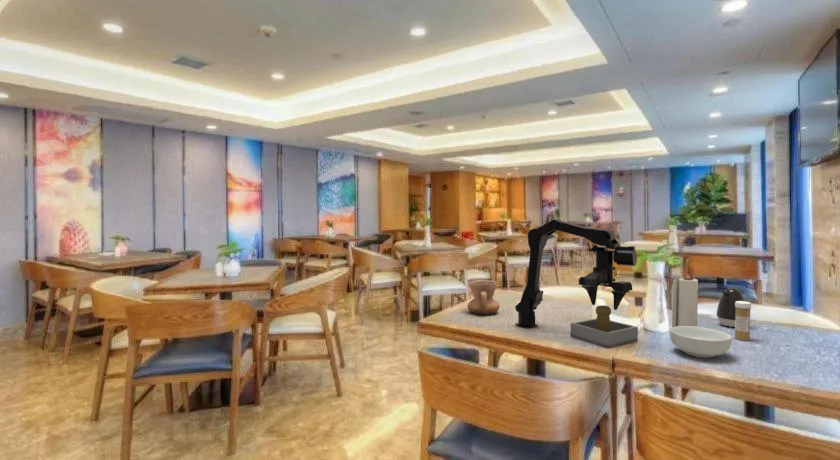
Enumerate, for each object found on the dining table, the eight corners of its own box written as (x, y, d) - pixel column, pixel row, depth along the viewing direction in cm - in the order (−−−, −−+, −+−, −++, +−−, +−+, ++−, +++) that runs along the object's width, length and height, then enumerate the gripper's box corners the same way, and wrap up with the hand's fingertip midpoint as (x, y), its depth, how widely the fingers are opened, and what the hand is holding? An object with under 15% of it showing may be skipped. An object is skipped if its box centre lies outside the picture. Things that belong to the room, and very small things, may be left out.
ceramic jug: (468, 308, 213) (467, 278, 212) (499, 308, 211) (498, 278, 210) (466, 318, 195) (465, 286, 194) (500, 318, 193) (499, 286, 192)
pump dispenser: (709, 324, 179) (710, 286, 178) (728, 321, 182) (729, 285, 182) (734, 330, 169) (735, 291, 169) (754, 328, 173) (755, 289, 172)
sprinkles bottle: (739, 336, 161) (739, 300, 161) (752, 340, 157) (753, 302, 157) (731, 338, 159) (732, 301, 159) (745, 341, 155) (746, 303, 155)
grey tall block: (699, 337, 162) (700, 278, 161) (694, 340, 157) (695, 280, 156) (677, 333, 167) (678, 276, 166) (671, 336, 162) (672, 278, 161)
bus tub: (570, 336, 164) (570, 323, 164) (599, 330, 172) (599, 317, 172) (607, 348, 150) (608, 333, 150) (637, 340, 158) (637, 326, 158)
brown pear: (613, 338, 157) (614, 308, 157) (595, 337, 159) (595, 307, 158) (610, 334, 163) (610, 304, 163) (592, 333, 164) (593, 303, 164)
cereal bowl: (707, 366, 132) (708, 342, 132) (658, 350, 148) (658, 329, 147) (743, 358, 139) (744, 335, 139) (692, 343, 154) (692, 323, 154)
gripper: (568, 263, 164) (568, 305, 164) (612, 268, 147) (612, 315, 148) (588, 261, 169) (588, 301, 170) (633, 266, 153) (633, 311, 154)
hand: (604, 307), depth 160 cm, fingers open, 9 cm apart
